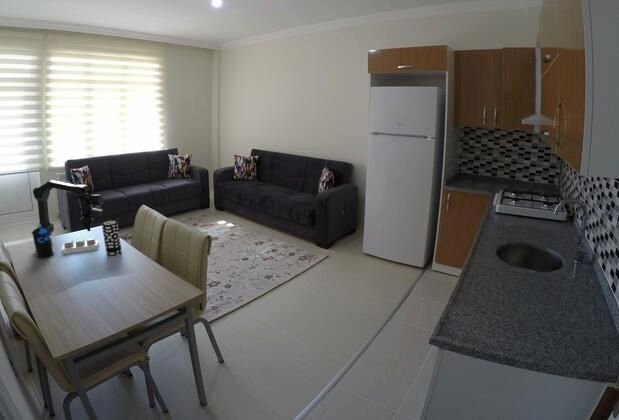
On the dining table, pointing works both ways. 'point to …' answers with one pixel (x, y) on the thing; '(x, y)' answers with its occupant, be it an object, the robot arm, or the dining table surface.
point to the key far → (90, 241)
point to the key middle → (80, 242)
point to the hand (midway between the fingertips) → (89, 228)
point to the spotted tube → (111, 238)
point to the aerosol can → (42, 242)
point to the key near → (68, 244)
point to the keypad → (80, 248)
